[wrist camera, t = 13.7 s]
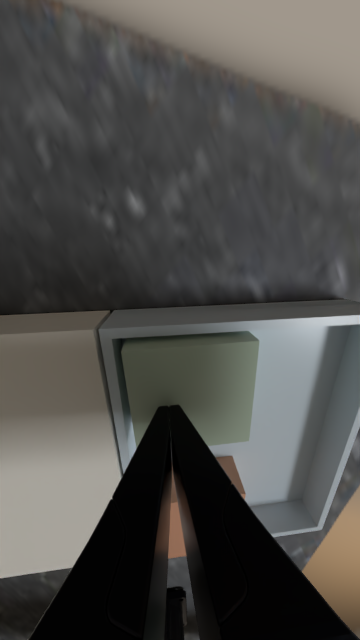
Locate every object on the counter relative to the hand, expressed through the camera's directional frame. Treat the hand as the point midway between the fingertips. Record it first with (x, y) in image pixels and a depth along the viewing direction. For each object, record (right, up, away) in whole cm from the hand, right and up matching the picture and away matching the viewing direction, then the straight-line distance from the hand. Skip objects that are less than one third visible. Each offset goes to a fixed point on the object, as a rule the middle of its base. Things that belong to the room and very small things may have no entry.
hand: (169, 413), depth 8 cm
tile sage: (+1, +1, +2) cm, 2 cm away
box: (+3, -3, +5) cm, 6 cm away
